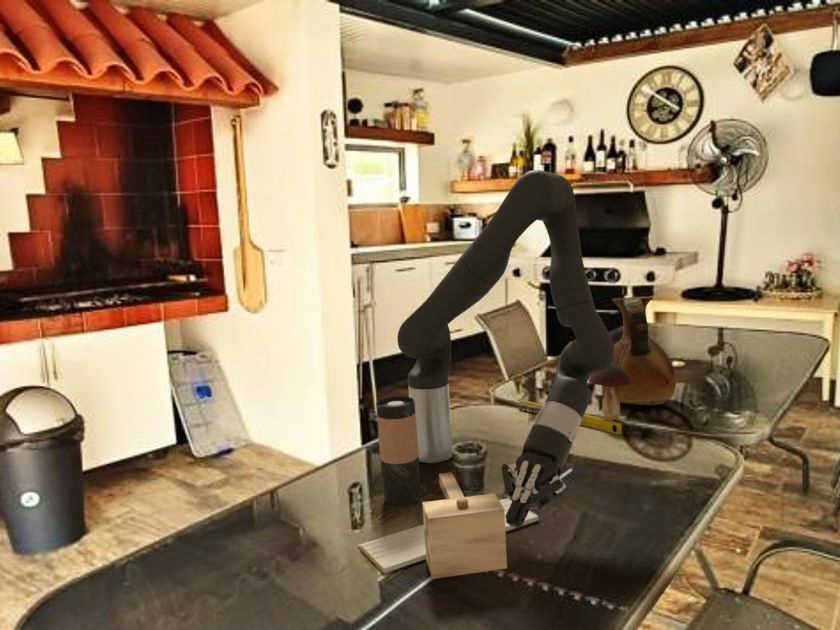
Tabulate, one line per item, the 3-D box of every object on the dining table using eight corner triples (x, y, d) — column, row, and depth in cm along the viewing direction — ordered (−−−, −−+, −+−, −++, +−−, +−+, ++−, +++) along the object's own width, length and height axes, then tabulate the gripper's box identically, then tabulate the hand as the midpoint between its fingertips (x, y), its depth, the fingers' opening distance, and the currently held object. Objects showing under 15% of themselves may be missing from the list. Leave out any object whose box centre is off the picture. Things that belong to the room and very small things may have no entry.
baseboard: (355, 546, 117) (384, 577, 107) (353, 530, 117) (383, 560, 106) (500, 500, 132) (538, 523, 121) (499, 486, 131) (538, 508, 121)
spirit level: (625, 434, 162) (625, 423, 162) (622, 436, 162) (622, 424, 161) (521, 409, 188) (521, 398, 188) (518, 410, 187) (517, 400, 187)
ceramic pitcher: (665, 391, 195) (664, 289, 190) (685, 412, 175) (685, 299, 171) (596, 394, 197) (593, 292, 192) (608, 415, 177) (606, 302, 173)
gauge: (415, 526, 122) (412, 470, 120) (480, 518, 124) (477, 462, 122) (432, 579, 104) (427, 513, 103) (507, 568, 106) (504, 504, 104)
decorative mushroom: (642, 422, 170) (642, 364, 167) (609, 430, 165) (608, 371, 163) (612, 411, 180) (611, 357, 177) (580, 419, 175) (578, 363, 173)
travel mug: (427, 492, 136) (421, 397, 133) (411, 508, 129) (404, 408, 126) (394, 488, 139) (387, 394, 136) (376, 503, 132) (368, 405, 129)
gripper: (512, 416, 120) (470, 505, 113) (576, 430, 110) (534, 528, 104) (531, 436, 124) (492, 523, 118) (594, 452, 114) (555, 547, 108)
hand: (512, 525), depth 111 cm, fingers closed
